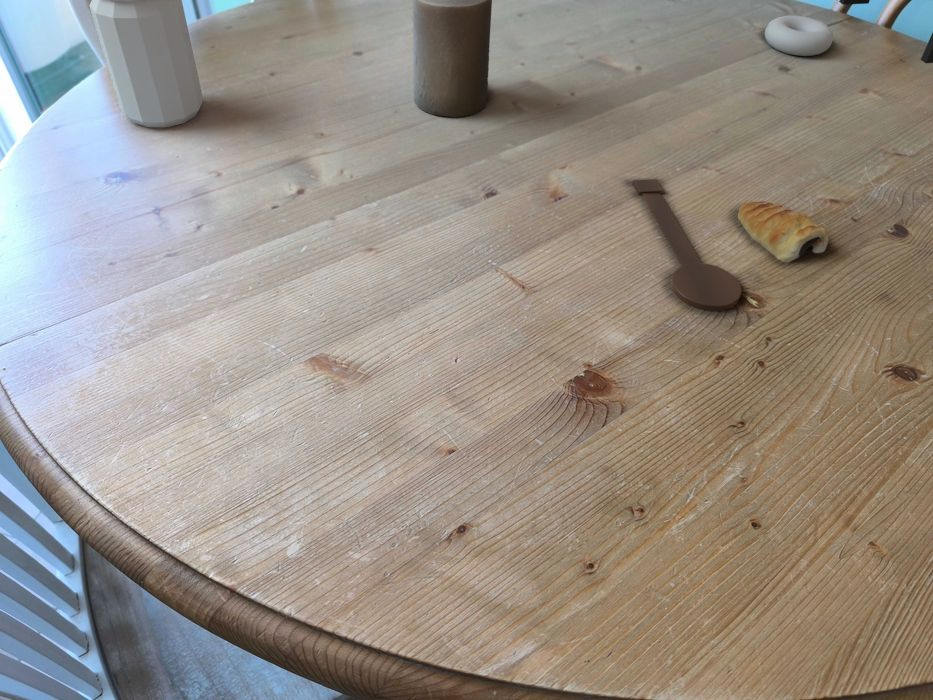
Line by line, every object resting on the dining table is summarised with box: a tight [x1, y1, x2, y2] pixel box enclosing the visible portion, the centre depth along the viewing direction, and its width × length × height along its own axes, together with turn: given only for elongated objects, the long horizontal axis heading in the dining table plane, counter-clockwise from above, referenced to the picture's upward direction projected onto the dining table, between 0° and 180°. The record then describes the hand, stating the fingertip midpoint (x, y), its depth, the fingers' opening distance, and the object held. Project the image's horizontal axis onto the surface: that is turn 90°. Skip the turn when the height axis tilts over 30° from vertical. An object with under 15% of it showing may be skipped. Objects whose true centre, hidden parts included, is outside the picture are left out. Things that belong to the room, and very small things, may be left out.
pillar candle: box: [412, 0, 493, 118], centre depth 93 cm, size 10×10×15 cm
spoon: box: [631, 178, 742, 312], centre depth 76 cm, size 6×22×2 cm, turn 8°
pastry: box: [737, 200, 830, 264], centre depth 77 cm, size 9×7×4 cm
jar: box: [88, 0, 204, 128], centre depth 87 cm, size 10×10×18 cm
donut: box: [764, 15, 834, 57], centre depth 115 cm, size 10×3×10 cm
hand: (892, 30), depth 68 cm, fingers open, 13 cm apart
